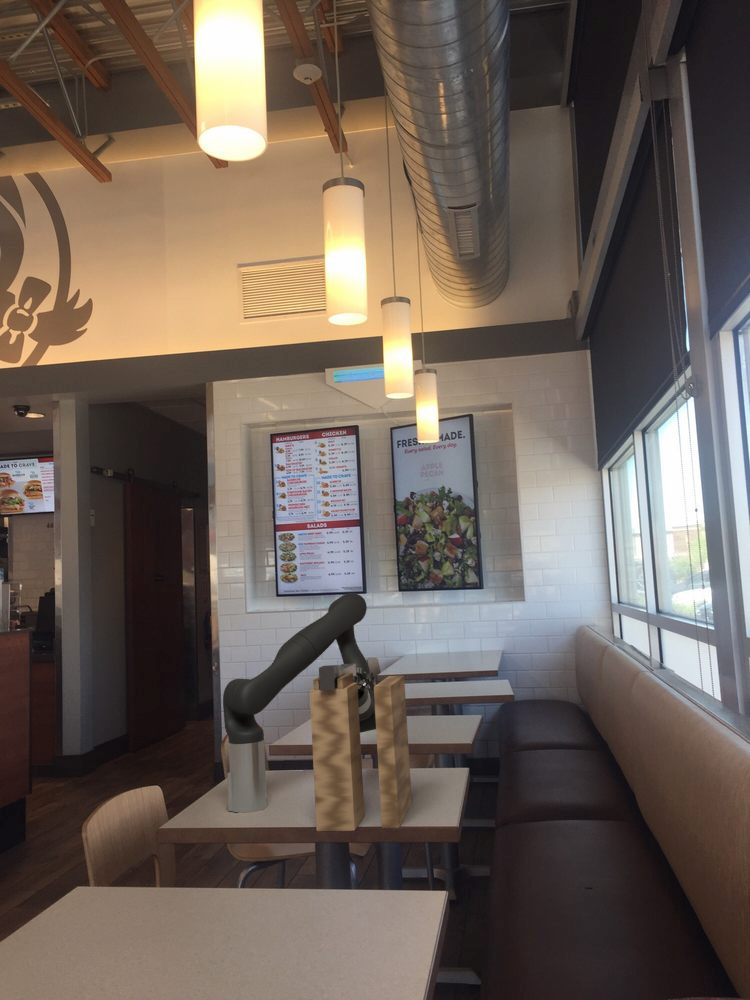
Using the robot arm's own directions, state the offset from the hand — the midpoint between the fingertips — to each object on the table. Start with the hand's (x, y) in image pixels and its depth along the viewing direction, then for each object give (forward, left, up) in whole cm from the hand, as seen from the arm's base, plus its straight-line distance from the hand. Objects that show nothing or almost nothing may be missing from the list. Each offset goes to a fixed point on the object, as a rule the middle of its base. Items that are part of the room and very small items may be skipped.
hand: (341, 670), depth 210 cm
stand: (+5, -3, -35) cm, 35 cm away
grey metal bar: (0, -3, -3) cm, 4 cm away
